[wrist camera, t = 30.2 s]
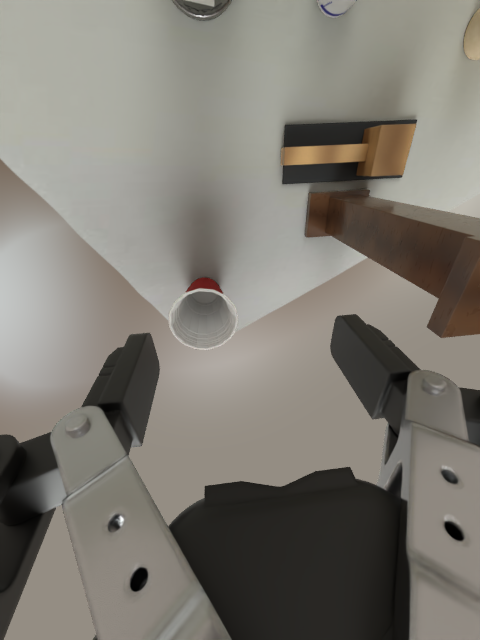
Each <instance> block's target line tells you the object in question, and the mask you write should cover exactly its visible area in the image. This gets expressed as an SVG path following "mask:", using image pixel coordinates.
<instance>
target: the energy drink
mask: <svg viewBox="0 0 480 640" xmlns="http://www.w3.org/2000/svg"><path fill="white" fill-rule="evenodd" d="M356 1H357V0H317V3H318V6H319V8H320V10H321V11H322V12H323V13H324V14H325V15H326V16H328V17H331V18H336V17H339V16H341V15H343V14H344V13H346V12H347V11H348V10H349V8H350V7H351V6H352V5H353V4H354V3H355V2H356Z"/></svg>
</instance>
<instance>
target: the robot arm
mask: <svg viewBox="0 0 480 640" xmlns="http://www.w3.org/2000/svg"><path fill="white" fill-rule="evenodd" d="M172 1H173V3H174V4H175V5H176V6H177V7H178V8H179V9H180V10H181V11H182V12H183V13H184V14H186V15H187V16H189V17H191V18H193V19H196V20H203V21H204V20H211V19H214V18H216V17H218V16H219V15H221V14H222V13H223V12H224V11H225V10H226V9H227V8H228V6H229V5H230V3H231V2H232V0H172ZM330 347H331V354H332V356H333V358H334V360H335V362H336V363H337V365H338V366H339V368H340V369H341V371H342V373H343V374H344V376H345V377H346V379H347V380H348V382H349V384H350V385H351V387H352V388H353V390H354V391H355V393H356V395H357V396H358V398H359V399H360V401H361V402H362V404H363V405H364V407H365V409H366V410H367V412H368V413H369V415H370V416H371V418H372V419H379V418H385V419H386V420H387V421H388V424H387V426H386V430H385V438H384V446H383V453H382V460H381V468H380V474H379V478H378V481H377V484H376V485H374V484H372V483H369V482H366V481H362V480H359V479H355V477H354V475H353V472H352V470H351V468H350V467H346V468H338V469H330V470H323V471H315V472H314V473H311V474H309V475H307V476H304V477H302V478H300V479H298V480H296V481H294V482H292V483H289V484H287V485H285V486H282V487H275V486H269V485H262V484H256V483H250V482H243V481H240V482H232V483H224V484H217V485H209V486H205V498H204V499H201V500H199V501H197V502H196V503H194V504H193V505H191V506H189V507H188V508H187V509H185V510H184V511H183V512H182V513H181V514H179V516H178V517H176V519H174V520H173V521H172V523H171V524H170V525H169V526H167V524H166V522H165V521H164V519H163V517H162V515H161V513H160V511H159V510H158V508H157V506H156V504H155V503H154V501H153V499H152V497H151V495H150V494H149V492H148V490H147V488H146V486H145V485H144V483H143V481H142V479H141V478H140V476H139V474H138V472H137V470H136V468H135V467H134V465H133V463H132V461H131V460H130V458H129V456H128V455H129V452H130V448H131V447H138V446H142V443H143V439H144V435H145V431H146V427H147V423H148V419H149V415H150V410H151V406H152V402H153V398H154V394H155V390H156V385H157V381H158V378H159V370H160V369H159V360H158V357H157V353H156V350H155V347H154V343H153V340H152V336H151V334H150V333H143V334H131V335H130V336H129V337H128V339H127V342H126V344H125V346H124V347H121V348H117V349H116V350H115V351H114V352H113V353H112V354H110V355H109V356H108V358H107V360H106V362H105V363H104V365H103V368H102V369H101V371H100V373H99V376H98V377H97V379H96V380H95V382H94V384H93V386H92V388H91V390H90V392H89V394H88V395H87V398H86V399H85V401H84V403H83V405H82V407H81V408H78V409H76V410H74V411H72V412H70V413H69V414H67V415H66V416H64V417H63V418H62V419H61V420H60V421H59V422H58V423H57V424H56V425H55V427H54V428H53V430H52V432H50V433H47V434H44V435H42V436H39V437H36V438H33V439H31V440H28V441H25V442H22V443H19V442H18V441H17V440H16V438H15V437H13V436H11V435H0V640H4V637H5V635H6V632H7V629H8V626H9V624H10V622H11V619H12V617H13V614H14V612H15V609H16V607H17V604H18V602H19V599H20V597H21V594H22V591H23V589H24V587H25V584H26V582H27V579H28V577H29V574H30V572H31V569H32V567H33V564H34V561H35V559H36V557H37V554H38V552H39V549H40V546H41V544H42V542H43V539H44V536H45V534H46V531H47V529H48V527H49V524H50V521H51V519H52V516H53V514H54V511H55V509H56V507H57V506H60V505H62V508H63V513H64V517H65V520H66V524H67V528H68V531H69V535H70V539H71V542H72V546H73V550H74V554H75V557H76V561H77V565H78V568H79V572H80V575H81V580H82V583H83V587H84V591H85V594H86V598H87V601H88V605H89V609H90V613H91V617H92V620H93V624H94V628H95V631H96V635H95V637H94V639H93V640H480V390H474V389H466V388H459V387H457V385H456V384H455V383H454V382H452V381H451V380H450V379H448V378H446V377H445V376H443V375H441V374H438V373H435V372H432V371H428V370H420V369H419V368H418V367H417V366H416V365H415V364H414V363H413V362H412V361H411V360H410V359H409V358H408V357H407V356H406V355H405V354H404V353H403V352H402V351H401V350H400V349H399V348H398V347H395V344H394V343H392V341H391V340H388V338H387V337H386V336H385V335H384V334H383V333H382V332H381V331H380V330H378V329H376V328H374V327H373V326H371V325H368V324H367V325H366V324H365V323H364V321H363V320H361V318H360V317H359V316H357V315H356V314H353V315H342V316H337V317H336V319H335V323H334V329H333V334H332V339H331V345H330Z"/></svg>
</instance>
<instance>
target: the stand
mask: <svg viewBox="0 0 480 640" xmlns="http://www.w3.org/2000/svg"><path fill="white" fill-rule="evenodd" d="M369 192H370V190H367V189H364V190H347V191H331V192H314V193H309V195H308V206H307V217H306V228H305V236H306V237H320V236H332V237H334V238H336V239H338V240H339V241H341V242H343V243H344V244H346V245H348V246H350V247H351V248H353V249H355V250H356V251H358V252H360V253H362V254H363V255H365V256H367V257H368V258H370V259H372V260H374V261H375V262H377V263H379V264H381V265H382V266H384V267H386V268H387V269H389V270H391V271H393V272H394V273H396V274H398V275H399V276H401V277H403V278H405V279H406V280H408V281H410V282H412V283H413V284H415V285H416V286H418V287H420V288H422V289H423V290H425V291H427V292H428V293H430V294H432V295H434V296H435V297H437V298H439V300H438V302H437V304H436V307H435V309H434V311H433V313H432V316H431V318H430V320H429V323H428V325H427V328H429V329H430V330H431V331H433V332H434V333H435V334H437V335H438V336H439V337H441V338H446V337H455V336H465V335H474V334H480V218H475V217H470V216H465V215H460V214H455V213H450V212H445V211H440V210H435V209H430V208H425V207H420V206H415V205H410V204H404V203H399V202H394V201H389V200H384V199H379V198H374V197H369Z"/></svg>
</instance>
